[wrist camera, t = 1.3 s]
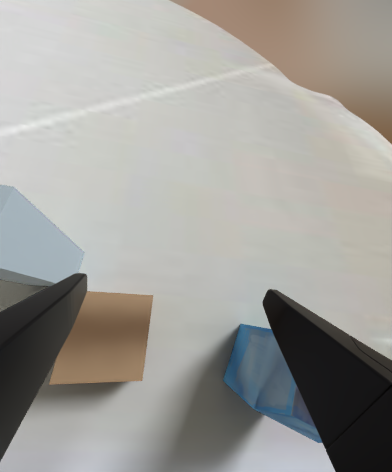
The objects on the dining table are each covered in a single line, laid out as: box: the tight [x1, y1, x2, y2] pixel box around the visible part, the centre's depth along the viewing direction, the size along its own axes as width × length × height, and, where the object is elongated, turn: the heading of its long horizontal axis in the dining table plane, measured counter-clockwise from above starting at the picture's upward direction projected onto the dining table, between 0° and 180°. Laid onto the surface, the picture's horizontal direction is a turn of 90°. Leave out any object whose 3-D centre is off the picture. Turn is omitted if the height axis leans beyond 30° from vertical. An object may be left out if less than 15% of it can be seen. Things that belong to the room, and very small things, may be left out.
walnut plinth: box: [49, 291, 153, 385], centre depth 17 cm, size 7×7×3 cm
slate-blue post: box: [0, 185, 84, 286], centre depth 14 cm, size 4×4×12 cm
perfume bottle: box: [223, 324, 322, 443], centre depth 16 cm, size 6×6×12 cm
